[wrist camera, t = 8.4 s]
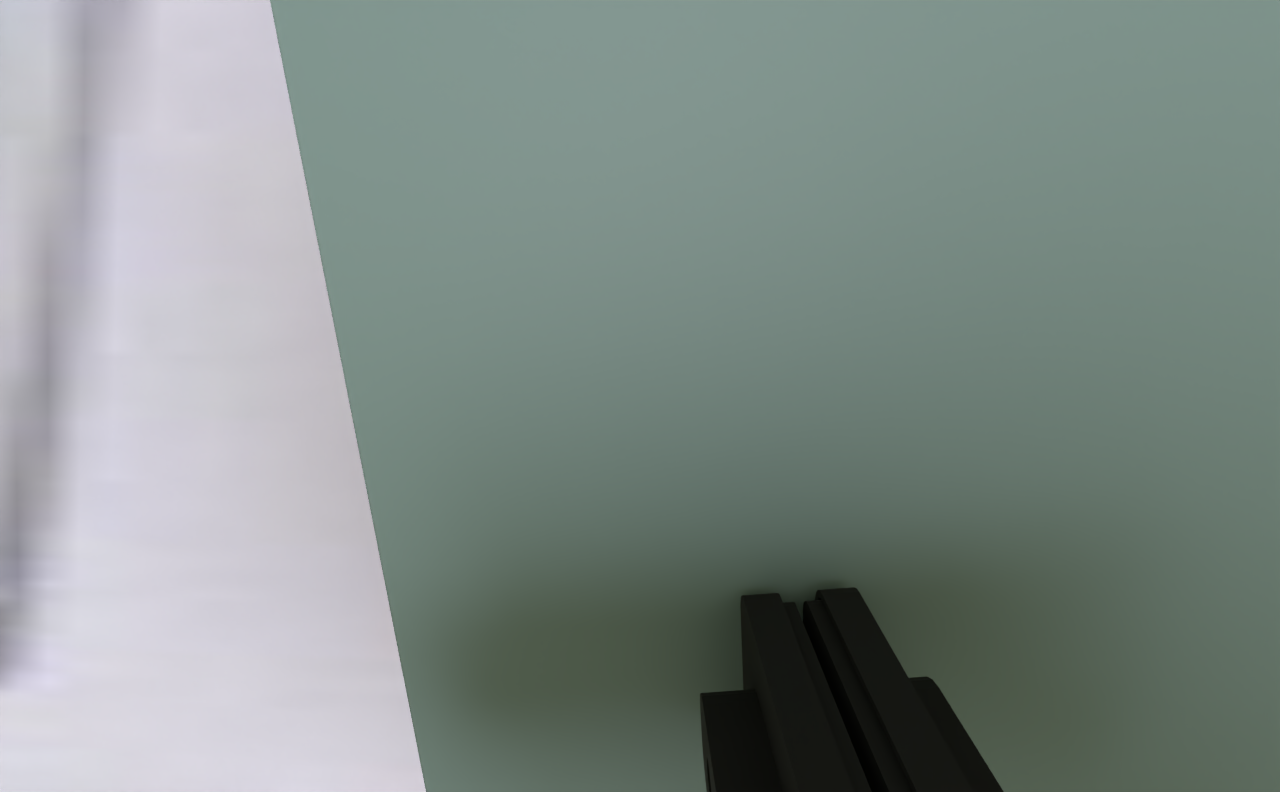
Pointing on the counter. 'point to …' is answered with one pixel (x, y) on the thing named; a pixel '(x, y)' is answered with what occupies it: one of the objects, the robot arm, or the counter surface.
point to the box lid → (811, 365)
